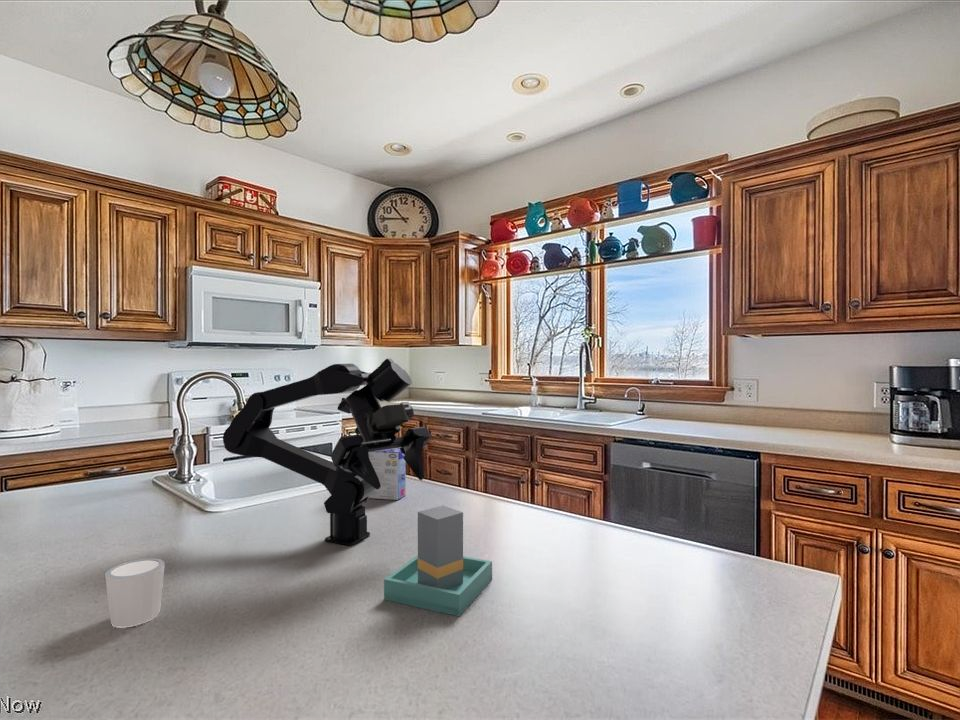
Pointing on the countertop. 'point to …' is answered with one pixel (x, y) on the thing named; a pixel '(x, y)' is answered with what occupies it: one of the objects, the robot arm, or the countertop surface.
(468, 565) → the tray
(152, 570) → the white cup
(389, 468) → the ink cartridge box
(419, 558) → the gray rectangular block
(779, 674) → the countertop surface
